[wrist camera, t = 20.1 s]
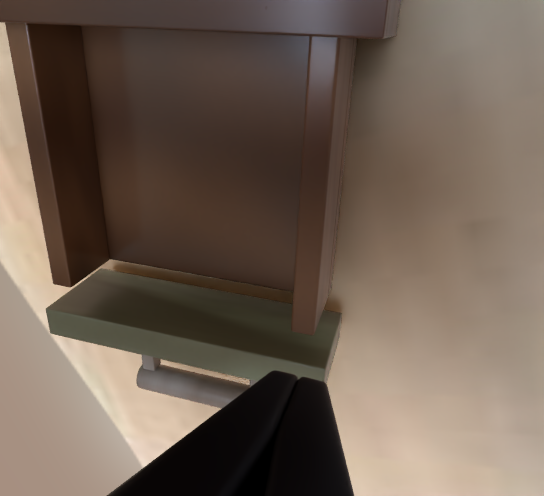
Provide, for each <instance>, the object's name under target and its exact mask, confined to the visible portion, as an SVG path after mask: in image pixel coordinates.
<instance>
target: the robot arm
mask: <svg viewBox="0 0 544 496" xmlns="http://www.w3.org/2000/svg"><path fill="white" fill-rule="evenodd" d="M107 496H354V493H353V489H352V485H351V481H350V477H349V473H348V469H347V465H346V460H345V456H344V452H343V448H342V444H341V440H340V436H339V432H338V428H337V424H336V420H335V416H334V412H333V408H332V404H331V400H330V396H329V392H328V387H327V385H326V383H325V382H324V381H320V380H316V379H312V378H307V377H301V378H300V379H298V377H297V376H296V375H294V374H290V373H286V372H281V371H277V370H274V371H271V372H269V373H268V374H267V375H266V376H264V377H263V378H262V379H260V380H259V381H258V382H256V383H255V384H254V385H252V386H251V387H250V388H248V389H247V390H246V391H244V392H243V393H242V394H240V395H239V396H238V397H236V398H235V399H234V400H233V401H231V402H230V403H229V404H227V405H226V406H225V407H223V408H222V409H221V410H219V411H218V412H217V413H215V414H214V415H213V416H211V417H210V418H209V419H207V420H206V421H205V422H203V423H202V424H201V425H200V426H198V427H197V428H196V429H194V430H193V431H192V432H190V433H189V434H188V435H186V436H185V437H184V438H182V439H181V440H180V441H178V442H177V443H176V444H174V445H173V446H172V447H170V448H169V449H168V450H166V451H165V452H164V453H163V454H161V455H160V456H159V457H157V458H156V459H155V460H153V461H152V462H151V463H149V464H148V465H147V466H145V467H144V468H143V469H141V470H140V471H139V472H138V473H136V474H135V475H134V476H132V477H131V478H130V479H128V480H127V481H126V482H124V483H123V484H122V485H121V486H119V487H118V488H116V489H115V490H114V491H113V492H111V493H110V494H109V495H107Z"/></svg>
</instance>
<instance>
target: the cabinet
mask: <svg viewBox="0 0 544 496" xmlns="http://www.w3.org/2000/svg"><path fill="white" fill-rule="evenodd" d="M400 6H401V0H0V22H7V23H29V24H51V25H73V26H95V27H117V28H139V29H161V30H184V31H206V32H228V33H250V34H272V35H294V36H316V37H338V38H360V39H385V38H389V37H394V36H396V35H397V28H398V20H399V13H400Z"/></svg>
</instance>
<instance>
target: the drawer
mask: <svg viewBox="0 0 544 496" xmlns="http://www.w3.org/2000/svg"><path fill="white" fill-rule="evenodd" d="M5 24H6V30H7V35H8V40H9V46H10V51H11V57H12V62H13V68H14V73H15V78H16V84H17V89H18V95H19V100H20V105H21V111H22V116H23V122H24V127H25V132H26V138H27V143H28V149H29V154H30V159H31V165H32V170H33V176H34V181H35V186H36V192H37V197H38V203H39V208H40V213H41V219H42V224H43V230H44V235H45V241H46V246H47V251H48V257H49V262H50V268H51V273H52V278H53V283H54V284H56V285H61V286H66V287H72V286H74V285H75V284H76V283H78V282H79V281H81V280H82V279H83V278H85V277H86V276H87V275H89V274H90V273H92V272H93V271H94V270H96V269H97V268H98V267H100V266H101V265H103V264H104V263H105V262H107V261H108V260H109V259H114V260H119V261H125V262H130V263H136V264H141V265H147V266H152V267H158V268H164V269H169V270H175V271H180V272H186V273H191V274H197V275H203V276H208V277H214V278H219V279H225V280H230V281H236V282H241V283H247V284H253V285H258V286H264V287H269V288H275V289H280V290H286V291H291V292H293V304H289V303H284V302H278V301H273V300H268V299H262V298H257V297H252V296H246V295H241V294H236V293H230V292H225V291H219V290H214V289H209V288H203V287H198V286H193V285H187V284H182V283H177V282H171V281H166V280H160V279H155V278H150V277H144V276H139V275H134V274H128V273H123V272H118V271H112V270H107V269H99V270H98V271H96V272H95V273H94V274H92V275H91V276H90V277H88V278H87V279H86V280H84V281H83V282H81V283H80V284H79V285H77V286H76V287H75V288H73V289H72V290H71V291H69V292H68V293H66V294H65V295H64V296H62V297H61V298H60V299H58V300H57V301H56V302H54V303H53V304H51V305H50V306H49V307H47V308H46V313H47V318H48V323H49V328H50V333H51V334H55V335H59V336H64V337H68V338H72V339H77V340H81V341H85V342H90V343H94V344H98V345H103V346H107V347H111V348H116V349H120V350H124V351H129V352H133V353H137V354H142V366H141V367H140V369H139V371H138V375H137V386H138V387H139V388H142V389H146V390H150V391H154V392H158V393H162V394H166V395H170V396H174V397H178V398H182V399H186V400H190V401H194V402H198V403H202V404H206V405H210V406H214V407H218V408H223V407H225V406H226V405H227V404H229V403H230V402H231V401H233V400H234V399H235V398H236V397H238V396H239V395H240V394H242V393H243V392H244V391H246V390H247V389H248V388H250V387H251V386H252V385H254V384H255V383H256V382H258V381H259V380H260V379H262V378H263V377H264V376H266V375H267V374H268V373H269V372H271V371H274V370H277V371H281V372H286V373H290V374H294V375H296V376H297V377H298V379H300V378H301V377H307V378H312V379H316V380H320V381H324V382H325V383H327V380H328V376H329V372H330V369H331V365H332V362H333V358H334V355H335V351H336V348H337V344H338V341H339V337H340V328H341V320H342V314H341V313H337V312H332V311H327V310H323V309H324V307H325V304H326V301H327V298H328V296H329V293H330V290H331V287H332V277H333V267H334V258H335V248H336V238H337V229H338V219H339V209H340V199H341V190H342V180H343V170H344V160H345V151H346V141H347V131H348V122H349V112H350V102H351V92H352V83H353V73H354V63H355V53H356V44H357V38H338V37H316V36H294V35H272V34H250V33H228V32H206V31H184V30H161V29H139V28H117V27H95V26H73V25H51V24H29V23H7V22H5ZM160 359H163V360H168V361H172V362H176V363H181V364H185V365H189V366H193V367H198V368H202V369H206V370H211V371H215V372H219V373H224V374H228V375H232V376H237V377H241V378H245V379H250V385H246V384H242V383H238V382H233V381H229V380H225V379H221V378H216V377H212V376H208V375H203V374H199V373H195V372H191V371H186V370H182V369H178V368H174V367H169V366H165V365H161V364H160V363H161V362H160Z"/></svg>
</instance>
